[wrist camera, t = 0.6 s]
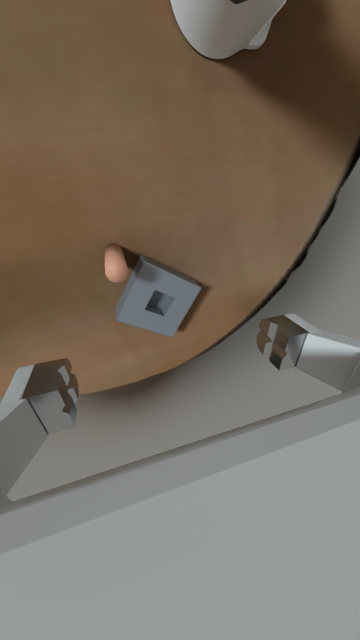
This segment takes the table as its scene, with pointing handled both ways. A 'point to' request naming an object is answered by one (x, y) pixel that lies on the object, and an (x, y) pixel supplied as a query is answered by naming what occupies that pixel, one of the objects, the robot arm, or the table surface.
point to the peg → (115, 263)
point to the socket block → (156, 297)
